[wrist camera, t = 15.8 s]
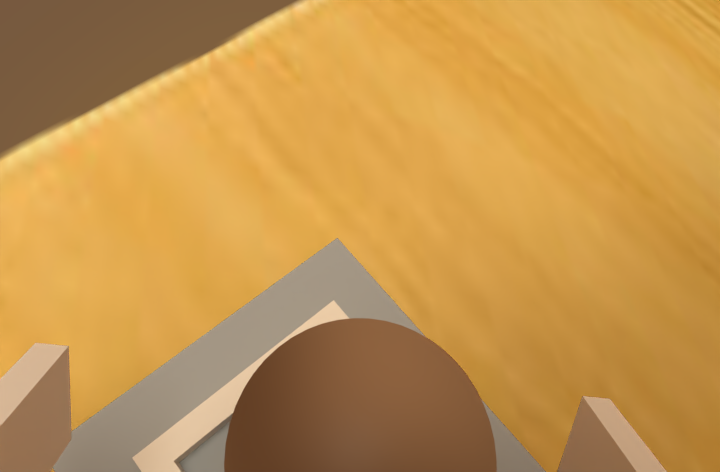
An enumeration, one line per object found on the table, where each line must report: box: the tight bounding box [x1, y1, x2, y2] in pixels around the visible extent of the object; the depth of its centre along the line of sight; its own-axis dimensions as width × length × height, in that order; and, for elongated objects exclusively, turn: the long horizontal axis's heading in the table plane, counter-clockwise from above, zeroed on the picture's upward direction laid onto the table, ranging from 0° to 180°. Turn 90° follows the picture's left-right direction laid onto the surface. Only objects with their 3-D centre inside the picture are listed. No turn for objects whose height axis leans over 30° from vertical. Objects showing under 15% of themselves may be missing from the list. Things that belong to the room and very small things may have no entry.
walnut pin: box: [224, 318, 497, 472], centre depth 15 cm, size 5×5×12 cm
